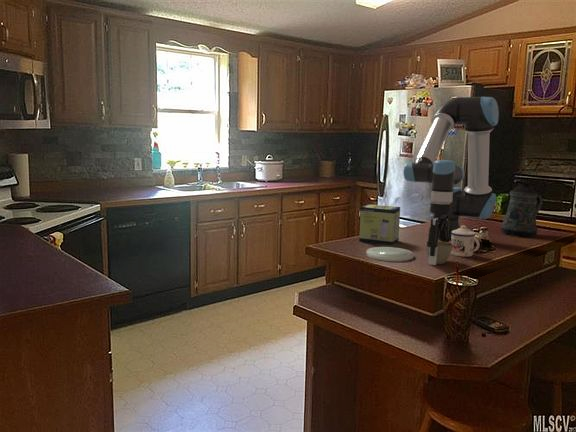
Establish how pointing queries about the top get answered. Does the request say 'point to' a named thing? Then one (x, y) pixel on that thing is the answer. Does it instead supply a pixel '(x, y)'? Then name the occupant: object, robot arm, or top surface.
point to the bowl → (441, 251)
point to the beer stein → (522, 211)
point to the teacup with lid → (463, 242)
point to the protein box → (379, 224)
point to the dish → (390, 254)
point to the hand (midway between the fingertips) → (437, 261)
